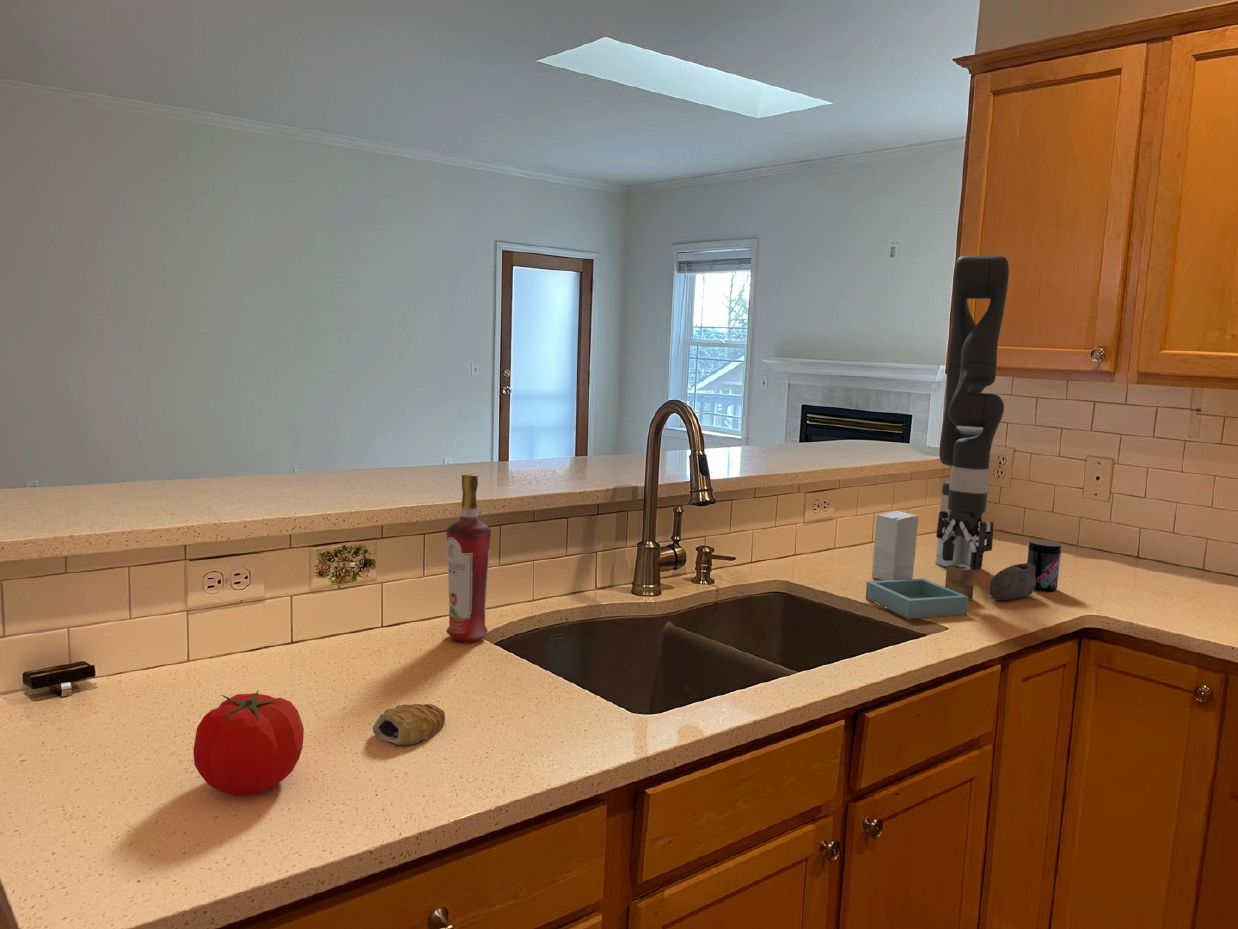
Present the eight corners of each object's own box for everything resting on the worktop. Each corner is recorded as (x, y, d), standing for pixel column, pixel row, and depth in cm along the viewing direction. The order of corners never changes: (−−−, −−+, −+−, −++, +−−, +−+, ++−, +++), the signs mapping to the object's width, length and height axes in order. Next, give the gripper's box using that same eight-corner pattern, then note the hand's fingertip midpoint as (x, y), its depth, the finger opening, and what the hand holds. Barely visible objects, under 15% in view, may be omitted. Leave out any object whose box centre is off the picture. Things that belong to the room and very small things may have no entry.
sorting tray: (921, 594, 193) (923, 578, 193) (966, 614, 180) (968, 596, 180) (865, 598, 188) (866, 581, 188) (907, 619, 175) (909, 600, 175)
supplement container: (1028, 591, 200) (1033, 544, 198) (1020, 583, 206) (1024, 538, 205) (1061, 593, 199) (1066, 547, 197) (1051, 585, 205) (1056, 540, 204)
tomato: (194, 769, 105) (191, 684, 104) (298, 754, 110) (297, 672, 109) (194, 820, 95) (192, 726, 93) (310, 800, 100) (309, 711, 98)
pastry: (421, 714, 123) (422, 687, 123) (458, 728, 120) (459, 700, 119) (368, 738, 116) (368, 709, 115) (405, 753, 112) (406, 724, 112)
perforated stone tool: (1000, 606, 187) (1003, 573, 186) (977, 599, 192) (980, 567, 191) (1041, 597, 196) (1045, 565, 195) (1019, 591, 200) (1022, 560, 199)
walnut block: (959, 594, 195) (962, 564, 194) (972, 599, 191) (975, 568, 191) (944, 595, 194) (947, 564, 193) (956, 600, 190) (959, 569, 189)
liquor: (435, 637, 154) (438, 474, 150) (469, 628, 159) (472, 470, 155) (463, 648, 149) (466, 479, 145) (497, 638, 154) (501, 475, 151)
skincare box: (891, 573, 211) (897, 510, 209) (914, 579, 206) (920, 514, 204) (870, 577, 206) (875, 513, 204) (893, 584, 201) (898, 518, 199)
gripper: (1007, 494, 184) (999, 572, 186) (959, 483, 197) (952, 556, 199) (977, 494, 181) (969, 573, 183) (931, 483, 195) (924, 557, 197)
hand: (961, 565), depth 191 cm, fingers open, 8 cm apart
